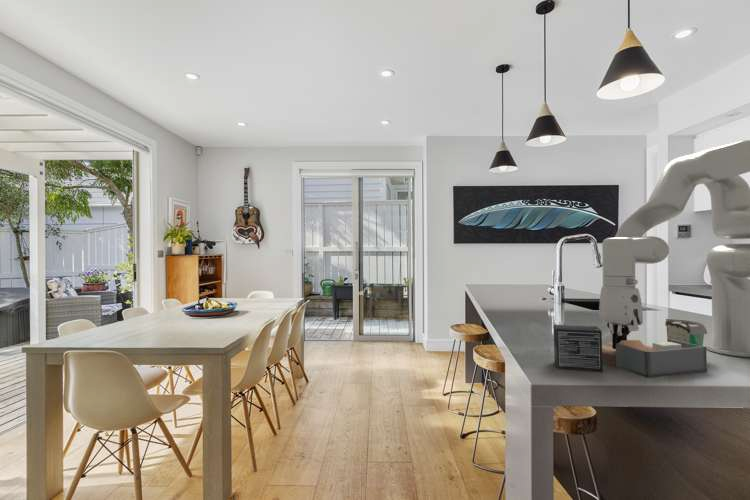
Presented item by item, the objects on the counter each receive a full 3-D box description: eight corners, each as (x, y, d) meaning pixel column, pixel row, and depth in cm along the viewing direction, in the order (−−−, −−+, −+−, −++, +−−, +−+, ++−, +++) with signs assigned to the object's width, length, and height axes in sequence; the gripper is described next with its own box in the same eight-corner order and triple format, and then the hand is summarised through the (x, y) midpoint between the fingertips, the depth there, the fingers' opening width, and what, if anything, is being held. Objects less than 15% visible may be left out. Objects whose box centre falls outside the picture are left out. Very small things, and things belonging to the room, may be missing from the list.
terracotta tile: (633, 347, 101) (639, 340, 99) (647, 364, 96) (653, 357, 95) (615, 347, 100) (621, 340, 98) (628, 365, 96) (634, 358, 94)
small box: (597, 365, 99) (597, 325, 99) (603, 372, 93) (603, 330, 93) (553, 361, 102) (553, 323, 102) (556, 368, 96) (556, 328, 96)
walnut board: (628, 348, 114) (628, 340, 114) (670, 360, 101) (670, 351, 101) (578, 353, 110) (577, 344, 110) (615, 366, 97) (615, 356, 97)
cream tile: (670, 341, 98) (681, 344, 95) (670, 362, 98) (681, 366, 95) (652, 342, 97) (663, 345, 94) (652, 364, 97) (663, 367, 94)
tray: (671, 361, 101) (670, 339, 101) (706, 371, 93) (706, 347, 93) (616, 366, 97) (615, 343, 97) (647, 377, 88) (647, 352, 89)
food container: (719, 366, 96) (718, 327, 96) (692, 365, 97) (691, 327, 97) (689, 353, 108) (689, 319, 108) (665, 352, 110) (665, 318, 110)
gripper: (655, 284, 96) (656, 355, 96) (607, 280, 110) (608, 341, 110) (631, 285, 94) (632, 357, 94) (586, 280, 109) (587, 343, 109)
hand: (619, 349), depth 102 cm, fingers closed
